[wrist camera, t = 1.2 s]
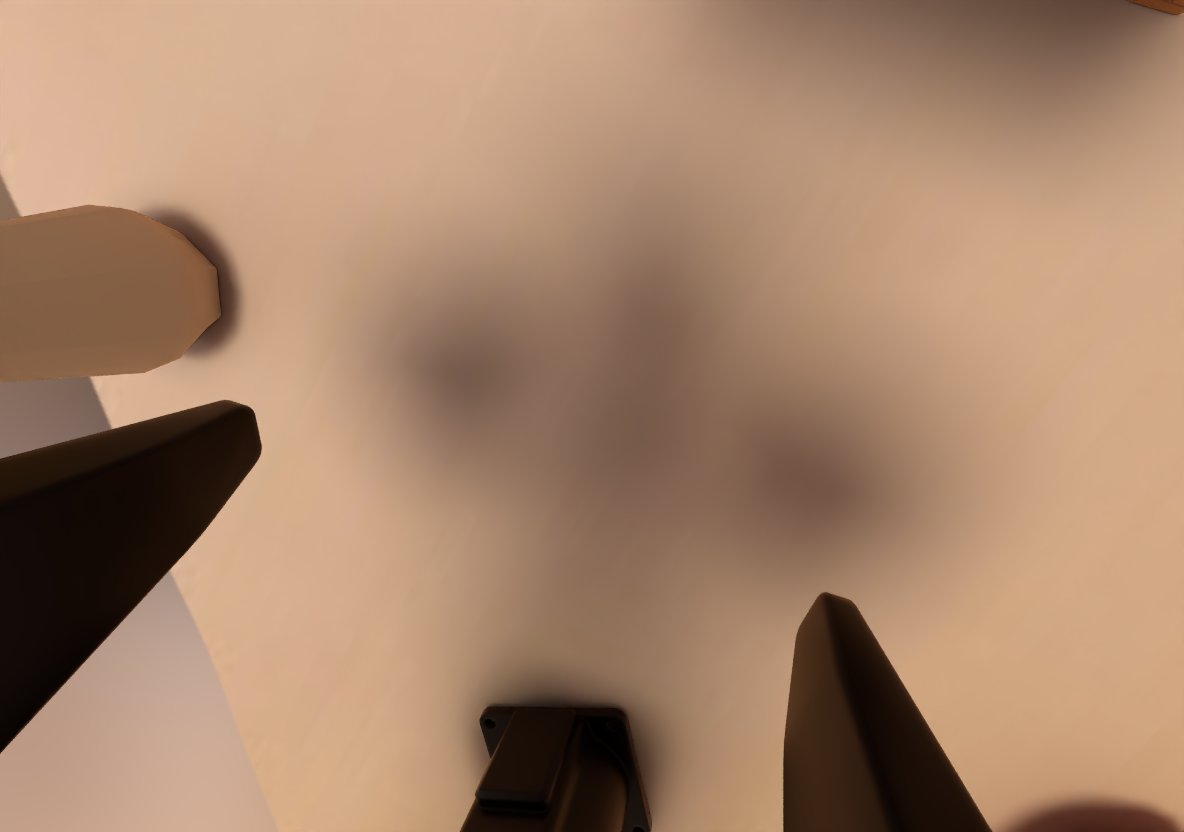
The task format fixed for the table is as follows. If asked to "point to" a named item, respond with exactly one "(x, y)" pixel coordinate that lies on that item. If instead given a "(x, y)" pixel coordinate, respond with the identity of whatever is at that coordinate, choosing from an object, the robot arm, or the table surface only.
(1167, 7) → the wooden box
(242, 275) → the table surface
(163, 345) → the salt shaker
